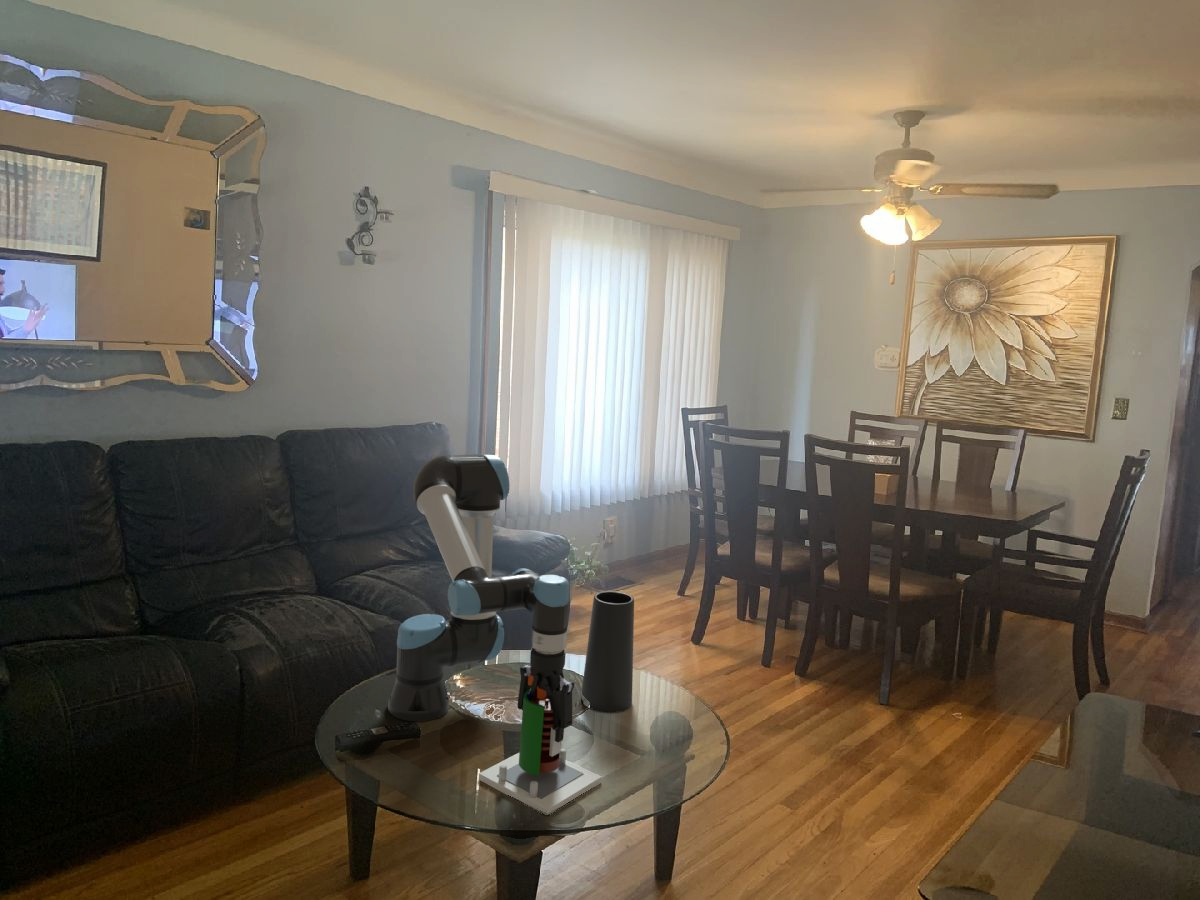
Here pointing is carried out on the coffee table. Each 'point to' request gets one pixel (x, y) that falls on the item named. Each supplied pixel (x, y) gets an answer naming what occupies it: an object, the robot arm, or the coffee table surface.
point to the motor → (537, 734)
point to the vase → (610, 653)
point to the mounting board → (540, 782)
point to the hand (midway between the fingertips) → (542, 747)
